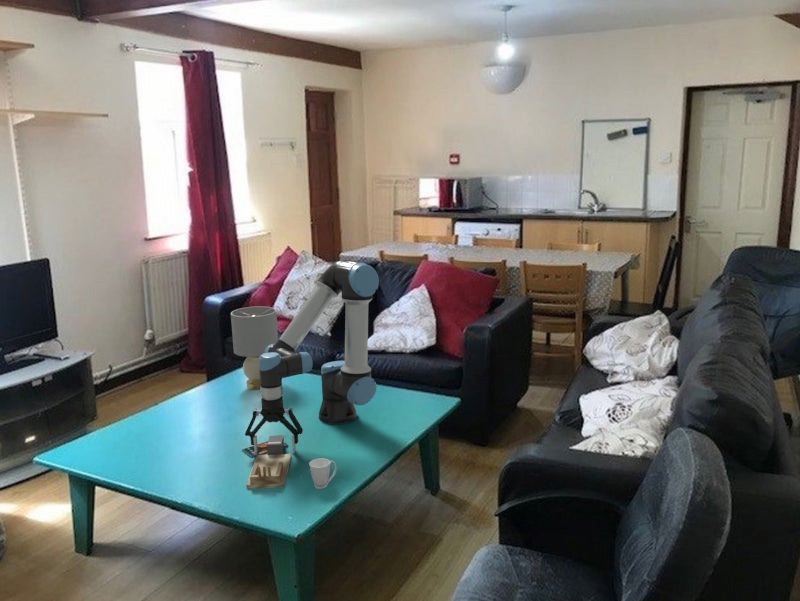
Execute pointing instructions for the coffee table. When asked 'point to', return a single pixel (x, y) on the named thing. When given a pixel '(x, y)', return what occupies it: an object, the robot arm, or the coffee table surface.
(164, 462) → the coffee table surface
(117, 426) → the coffee table surface
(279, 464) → the board
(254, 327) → the lamp
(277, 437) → the plug
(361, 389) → the robot arm
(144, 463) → the coffee table surface
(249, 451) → the smartphone
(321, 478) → the cup
